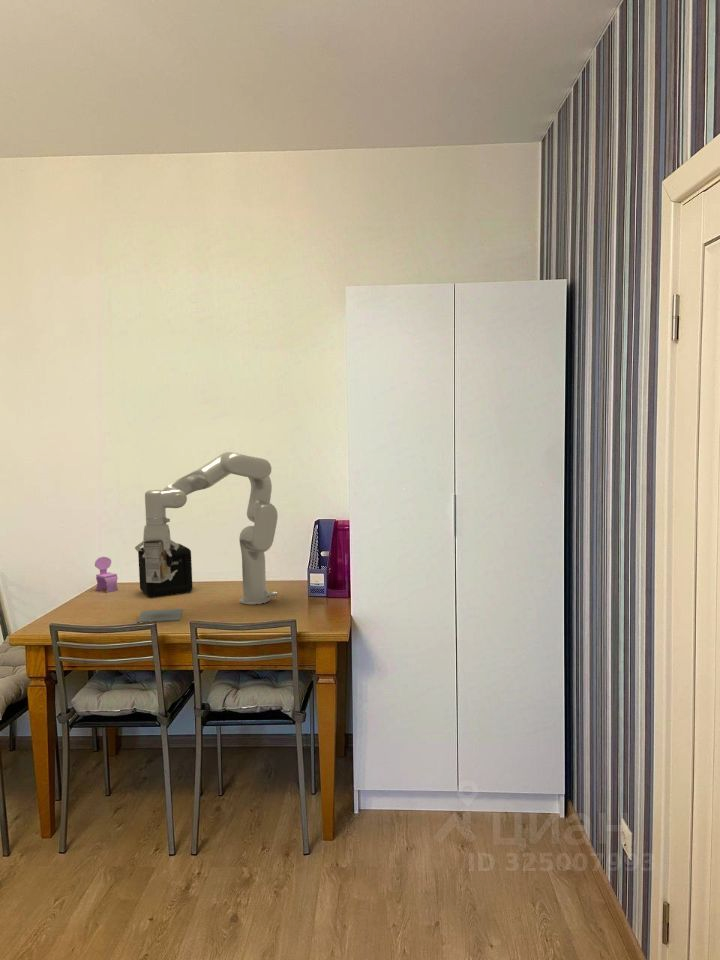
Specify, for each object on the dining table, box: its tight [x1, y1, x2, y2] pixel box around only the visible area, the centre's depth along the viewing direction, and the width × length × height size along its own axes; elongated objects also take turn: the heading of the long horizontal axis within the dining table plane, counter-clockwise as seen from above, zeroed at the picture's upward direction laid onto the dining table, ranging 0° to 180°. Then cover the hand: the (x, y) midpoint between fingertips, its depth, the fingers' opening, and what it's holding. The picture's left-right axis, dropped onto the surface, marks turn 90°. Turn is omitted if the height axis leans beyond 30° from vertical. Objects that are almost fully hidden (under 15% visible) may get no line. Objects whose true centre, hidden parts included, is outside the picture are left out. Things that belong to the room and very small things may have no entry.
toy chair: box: [94, 556, 119, 594], centre depth 354 cm, size 8×9×15 cm
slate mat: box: [136, 608, 184, 624], centre depth 310 cm, size 16×16×1 cm
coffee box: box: [144, 541, 171, 583], centre depth 308 cm, size 9×6×16 cm
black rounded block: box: [137, 542, 193, 598], centre depth 348 cm, size 20×15×20 cm
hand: (158, 566), depth 308 cm, fingers closed on coffee box, 8 cm apart
